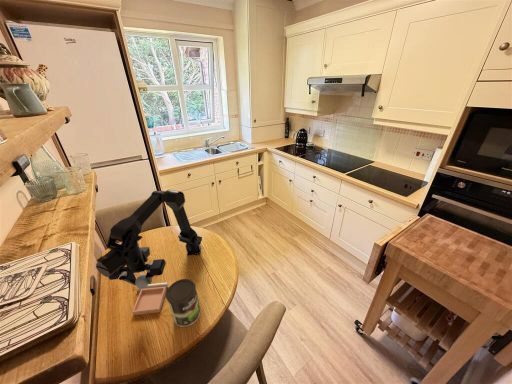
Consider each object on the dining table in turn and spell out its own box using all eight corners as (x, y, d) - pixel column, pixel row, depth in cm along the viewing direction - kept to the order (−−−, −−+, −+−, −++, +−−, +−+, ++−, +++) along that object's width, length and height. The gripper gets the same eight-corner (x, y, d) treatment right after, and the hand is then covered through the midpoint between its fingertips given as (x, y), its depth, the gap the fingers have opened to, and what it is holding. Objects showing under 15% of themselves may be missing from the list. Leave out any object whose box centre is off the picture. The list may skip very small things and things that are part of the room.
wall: (168, 286, 95) (167, 282, 94) (168, 287, 94) (166, 283, 93) (138, 289, 94) (136, 285, 93) (137, 290, 93) (136, 286, 92)
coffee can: (206, 309, 85) (201, 286, 78) (186, 332, 78) (179, 309, 71) (188, 297, 90) (182, 274, 83) (168, 317, 82) (159, 294, 76)
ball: (152, 279, 86) (149, 271, 84) (148, 290, 82) (145, 281, 79) (140, 280, 86) (136, 272, 83) (135, 291, 81) (131, 283, 79)
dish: (166, 289, 93) (165, 286, 92) (160, 312, 84) (158, 308, 83) (142, 292, 92) (141, 289, 91) (133, 315, 84) (131, 311, 83)
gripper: (165, 237, 84) (172, 265, 91) (115, 241, 82) (127, 269, 89) (156, 258, 74) (166, 288, 81) (99, 263, 72) (114, 293, 80)
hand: (143, 283), depth 83 cm, fingers closed on ball, 5 cm apart
